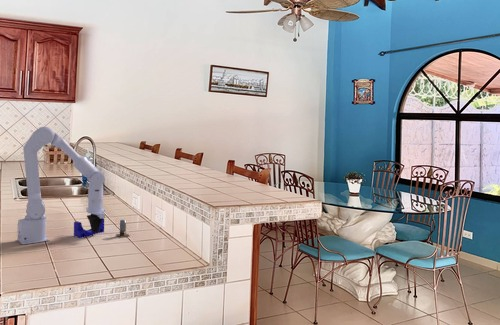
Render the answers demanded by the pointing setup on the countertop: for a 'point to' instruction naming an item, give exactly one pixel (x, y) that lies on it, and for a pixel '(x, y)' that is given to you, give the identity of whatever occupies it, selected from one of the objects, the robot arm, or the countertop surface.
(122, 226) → the post
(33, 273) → the countertop surface
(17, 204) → the countertop surface
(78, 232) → the cable clip
